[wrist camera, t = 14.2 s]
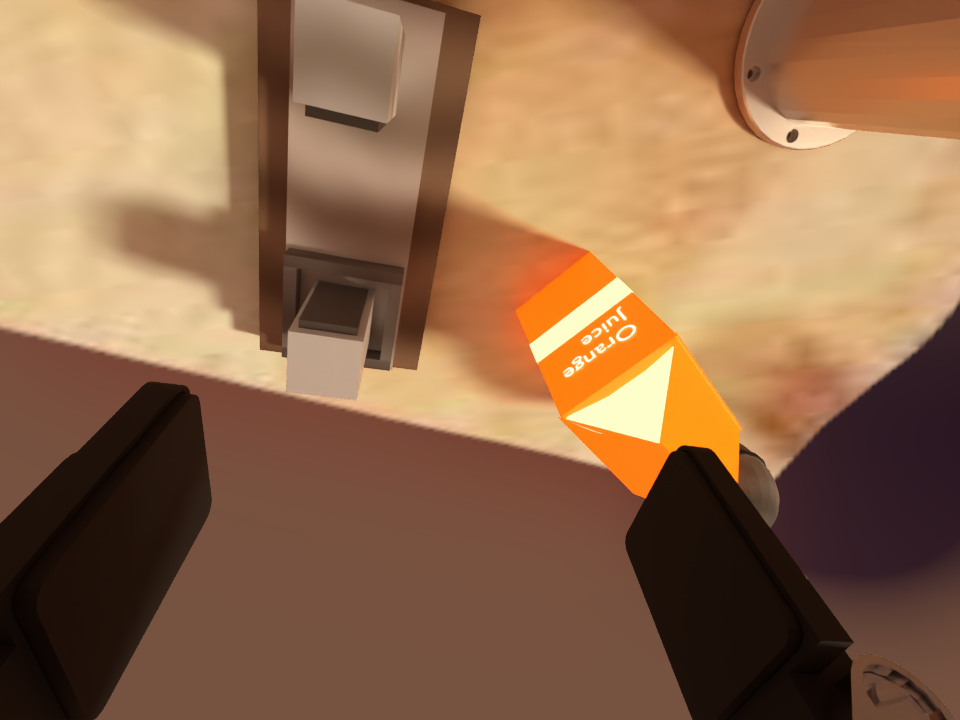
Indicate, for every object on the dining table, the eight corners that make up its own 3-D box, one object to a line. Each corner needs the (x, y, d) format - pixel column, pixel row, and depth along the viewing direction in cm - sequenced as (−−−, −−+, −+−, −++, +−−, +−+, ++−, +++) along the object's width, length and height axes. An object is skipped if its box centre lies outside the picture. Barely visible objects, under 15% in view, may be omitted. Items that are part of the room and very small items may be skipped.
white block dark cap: (317, 272, 32) (288, 323, 25) (376, 282, 33) (364, 334, 26) (313, 330, 34) (286, 392, 27) (369, 338, 35) (356, 400, 28)
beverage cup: (614, 434, 46) (728, 636, 29) (619, 372, 43) (752, 563, 25) (685, 424, 47) (838, 618, 29) (695, 362, 43) (878, 543, 26)
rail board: (268, -41, 26) (177, -119, 16) (477, 20, 28) (505, -17, 19) (267, 337, 37) (213, 424, 28) (417, 358, 40) (415, 444, 30)
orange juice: (590, 249, 36) (741, 391, 19) (644, 324, 40) (810, 497, 23) (512, 311, 38) (586, 490, 21) (571, 376, 42) (674, 572, 25)
